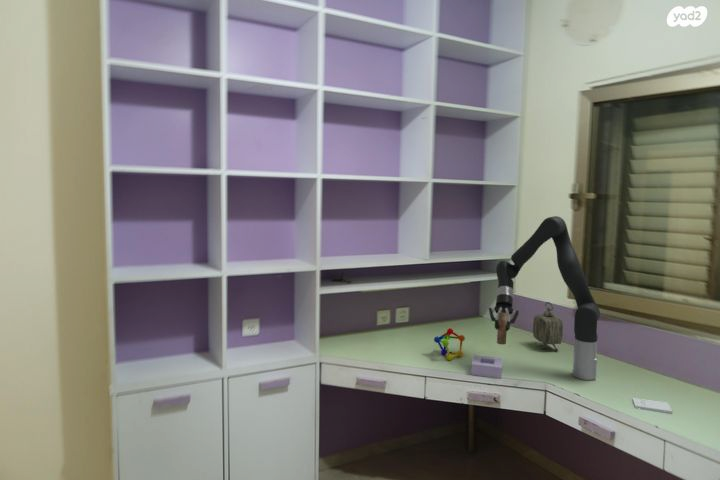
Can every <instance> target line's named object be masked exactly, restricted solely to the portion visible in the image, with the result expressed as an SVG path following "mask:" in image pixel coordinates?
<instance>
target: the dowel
mask: <svg viewBox="0 0 720 480" xmlns="http://www.w3.org/2000/svg"><path fill="white" fill-rule="evenodd" d="M507 318H508V314H507V313H504V312H500V313H499V316H498V330H497V335H496V337H497V338H496V344H498V345H506V344H507V332H508V331H506V329H507Z"/></svg>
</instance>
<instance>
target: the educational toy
mask: <svg viewBox="0 0 720 480" xmlns="http://www.w3.org/2000/svg"><path fill="white" fill-rule="evenodd" d="M465 337H466V336H465V335H463V334H460V335H459V334H458V333H456V332H454V329H453V328H451V327H449V328H448V329H447V330H446V332H445V333H443V334H442V335H439V336H435V337H434V338H433V341H434V343H436V344H438V346H439V347H440V354H441V355H442V354H443V355H442V356H446V360H447V361H452V360H453V359H454V358H455V357H459V358H462V357H463V356H464V353H463V351H462V348H463V347H462V346H463V342H464V341H465V339H466V338H465ZM450 339H454V340H457V339H458V340H459V349H458V351H457V352H455V351H450V348H449V344H450V343H449V340H450ZM441 343H442V344H441Z"/></svg>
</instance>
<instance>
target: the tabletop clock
mask: <svg viewBox="0 0 720 480" xmlns="http://www.w3.org/2000/svg"><path fill="white" fill-rule="evenodd" d="M547 304H548V305H550V306H551V308H550V307H547ZM544 306H545V309H546V310H545V311H544V312H543V314H536V315H534V317H533V325H532V326H533V327H532V336H533V338H534V339H535V340H537V342H540V343H542V345H541V346H540V347H541V349H542V350H543V349H545V346H546V345H552V346H553V348H554V351H555V352H559V349H558V348H557V347H556V345H560V344H562V341H563V335H564V331H563V330H564V326H563V325H564V324H563V320H562V318H561V317H559V316H558V315H555V314H554V312H553V309H554V306H553V304H552V303H551V302H550V301H549V302H548V301H547V302H545V305H544Z"/></svg>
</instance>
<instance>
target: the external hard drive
mask: <svg viewBox="0 0 720 480" xmlns="http://www.w3.org/2000/svg"><path fill="white" fill-rule="evenodd" d="M631 401H632V403H633V406H635V407H634V408H635V409H638V408H640V410H645V409H646V411H651V410H652V412H657V411H658V413H664V414H671V415H673V410H672V408H671V405H670V403H669V402H665V401H659V400H658V401H657V400H651V399H650V400H649V399H643V398H637V397H632V398H631Z"/></svg>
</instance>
